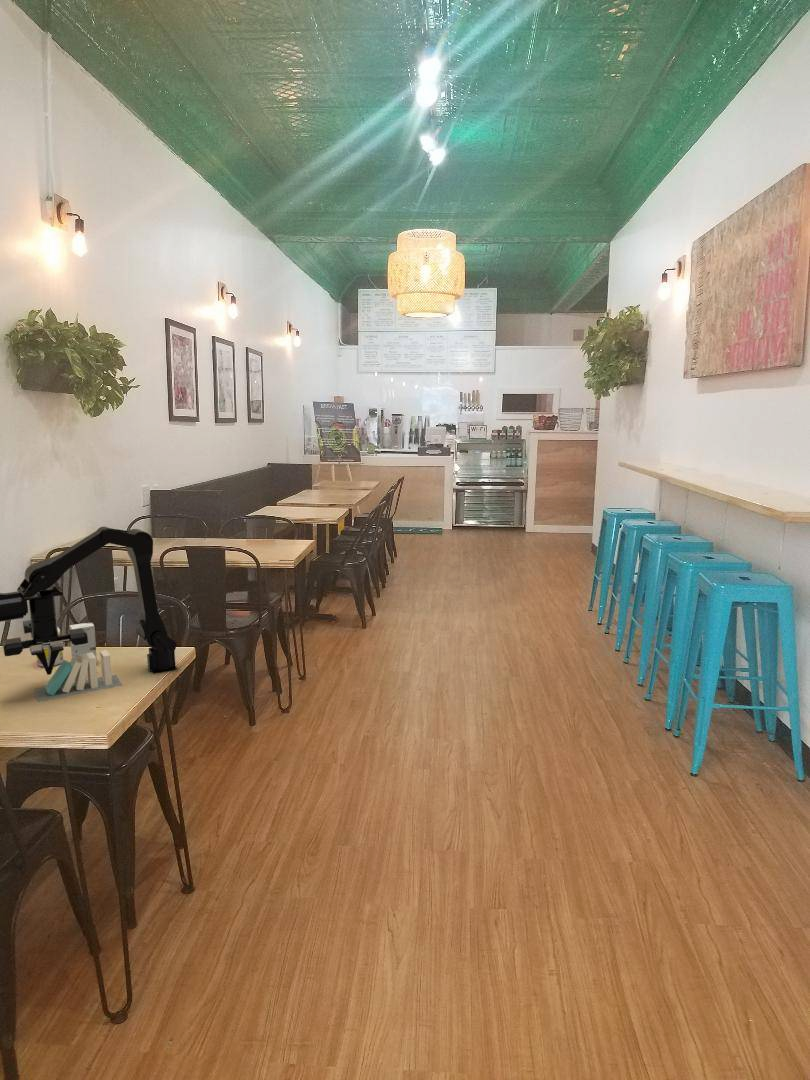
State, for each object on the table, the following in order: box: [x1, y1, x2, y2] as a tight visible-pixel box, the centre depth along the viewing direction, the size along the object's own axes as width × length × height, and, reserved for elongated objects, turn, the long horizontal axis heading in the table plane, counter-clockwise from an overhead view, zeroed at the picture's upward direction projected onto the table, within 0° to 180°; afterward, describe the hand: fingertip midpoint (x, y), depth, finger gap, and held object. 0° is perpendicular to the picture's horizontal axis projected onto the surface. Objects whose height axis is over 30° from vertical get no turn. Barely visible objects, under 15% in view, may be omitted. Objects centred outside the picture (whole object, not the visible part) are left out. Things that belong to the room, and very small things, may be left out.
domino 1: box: [60, 655, 82, 693], centre depth 184 cm, size 2×5×8 cm, turn 33°
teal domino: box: [44, 659, 72, 696], centre depth 183 cm, size 2×5×8 cm
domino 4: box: [99, 649, 113, 686], centre depth 189 cm, size 2×5×8 cm, turn 32°
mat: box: [33, 674, 123, 703], centre depth 186 cm, size 20×9×1 cm, turn 122°
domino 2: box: [73, 654, 89, 690], centre depth 186 cm, size 2×5×8 cm, turn 32°
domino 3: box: [86, 652, 98, 689], centre depth 187 cm, size 2×5×8 cm, turn 32°
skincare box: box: [69, 622, 98, 667], centre depth 201 cm, size 6×4×12 cm
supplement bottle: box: [36, 626, 64, 668], centre depth 204 cm, size 7×7×13 cm
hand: (49, 674), depth 182 cm, fingers closed
